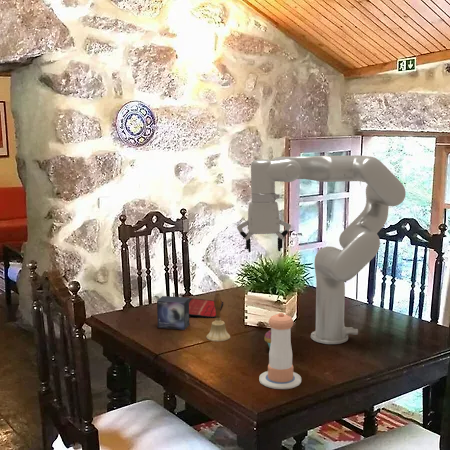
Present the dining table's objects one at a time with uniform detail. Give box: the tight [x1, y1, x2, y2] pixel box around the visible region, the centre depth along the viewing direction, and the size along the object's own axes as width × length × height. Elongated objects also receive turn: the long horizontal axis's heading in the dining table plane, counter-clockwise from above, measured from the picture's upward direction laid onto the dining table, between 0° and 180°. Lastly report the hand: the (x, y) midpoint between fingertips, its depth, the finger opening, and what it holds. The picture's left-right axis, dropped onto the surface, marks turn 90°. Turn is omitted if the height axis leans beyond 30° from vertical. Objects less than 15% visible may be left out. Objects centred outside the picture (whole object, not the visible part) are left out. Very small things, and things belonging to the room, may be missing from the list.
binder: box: [188, 297, 224, 319], centre depth 250 cm, size 16×2×21 cm
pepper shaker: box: [267, 312, 294, 382], centre depth 180 cm, size 7×7×19 cm
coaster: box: [258, 370, 302, 390], centre depth 182 cm, size 12×12×1 cm
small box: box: [156, 295, 191, 331], centre depth 229 cm, size 11×6×10 cm, turn 76°
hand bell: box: [205, 291, 231, 342], centre depth 217 cm, size 8×8×16 cm
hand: (264, 250), depth 205 cm, fingers open, 9 cm apart
